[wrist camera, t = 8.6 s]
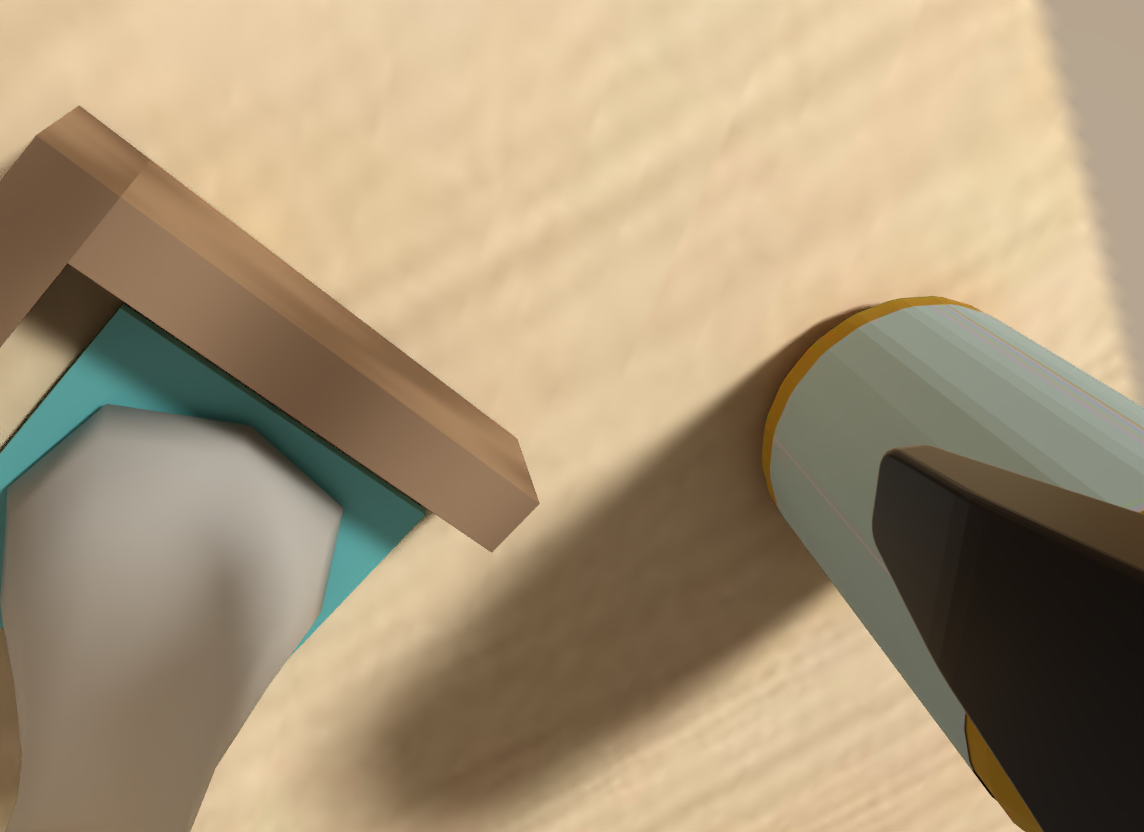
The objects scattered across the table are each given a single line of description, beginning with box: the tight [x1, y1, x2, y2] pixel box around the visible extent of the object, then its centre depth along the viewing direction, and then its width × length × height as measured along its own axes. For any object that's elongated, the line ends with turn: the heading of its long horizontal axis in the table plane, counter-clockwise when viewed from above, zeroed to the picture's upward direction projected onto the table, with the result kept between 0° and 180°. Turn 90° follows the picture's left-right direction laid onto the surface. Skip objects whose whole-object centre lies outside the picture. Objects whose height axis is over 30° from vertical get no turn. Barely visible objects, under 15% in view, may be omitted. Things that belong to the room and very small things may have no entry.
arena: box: [0, 106, 539, 552], centre depth 21 cm, size 11×15×3 cm
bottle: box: [762, 296, 1144, 832], centre depth 19 cm, size 7×7×15 cm
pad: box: [0, 303, 425, 655], centre depth 23 cm, size 8×8×1 cm
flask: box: [0, 404, 344, 832], centre depth 18 cm, size 7×7×10 cm
